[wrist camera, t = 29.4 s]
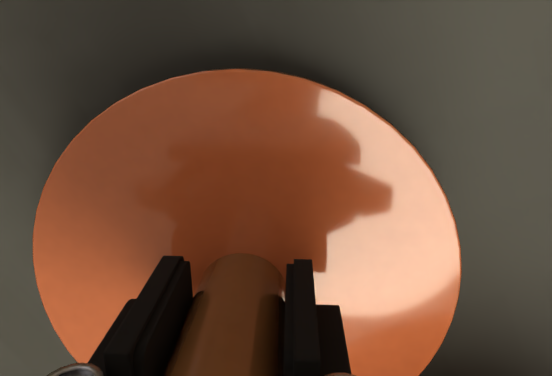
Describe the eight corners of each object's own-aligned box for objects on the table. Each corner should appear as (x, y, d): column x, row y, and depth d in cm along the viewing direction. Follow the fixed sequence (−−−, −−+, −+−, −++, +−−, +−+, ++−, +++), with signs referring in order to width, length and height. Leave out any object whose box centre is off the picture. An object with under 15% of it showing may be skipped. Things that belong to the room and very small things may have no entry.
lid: (14, 64, 12) (-313, 87, 5) (482, 68, 11) (727, 99, 5) (86, 408, 16) (-44, 637, 10) (419, 422, 16) (503, 673, 10)
